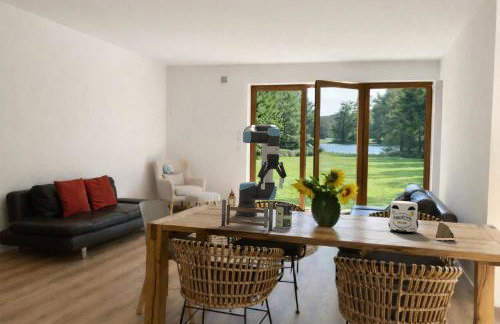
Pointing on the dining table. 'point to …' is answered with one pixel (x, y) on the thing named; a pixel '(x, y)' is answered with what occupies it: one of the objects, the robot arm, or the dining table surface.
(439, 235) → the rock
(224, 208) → the gate posts
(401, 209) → the milk container
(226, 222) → the gate leaf
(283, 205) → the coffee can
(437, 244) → the dining table surface
